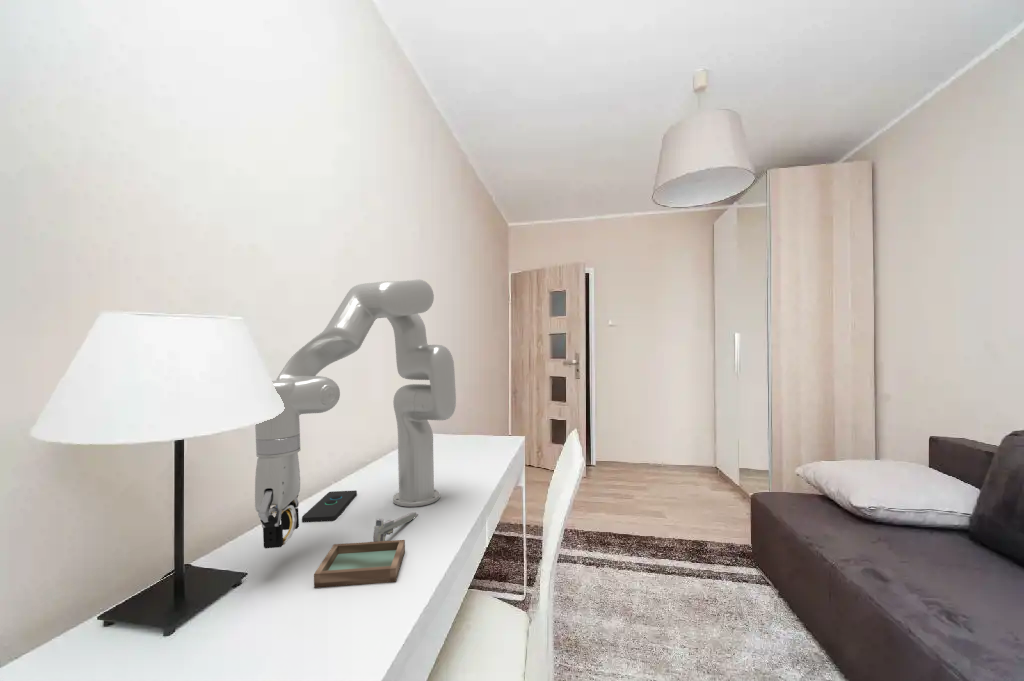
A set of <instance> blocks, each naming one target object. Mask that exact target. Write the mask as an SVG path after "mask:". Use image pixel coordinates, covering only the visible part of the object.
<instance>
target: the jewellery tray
mask: <svg viewBox="0 0 1024 681" xmlns="http://www.w3.org/2000/svg"><path fill="white" fill-rule="evenodd" d="M405 552H406V539H397V540H396V539H394V540H393V539H392V540H385V541H377V542H373V541H365V542H364V541H363V542H350V543H334V544H333V545H332V547H331V548H330V549H329V550H328V552H327V554H326V556H325V557H324V558H323V559H322V561H321V563H320V564H319V566H318V567H317V569H316V571H315V572H314V573H313V588H314V589H319V588H320V589H321V588H332V587H334V588H335V587H346V586H347V587H348V586H357V585H358V586H359V585H361V586H362V585H371V584H372V585H373V584H385V583H387V584H389V583H397V580H398V577H399V573H400V569H401V566H402V562H403V559H404V556H405Z"/></svg>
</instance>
